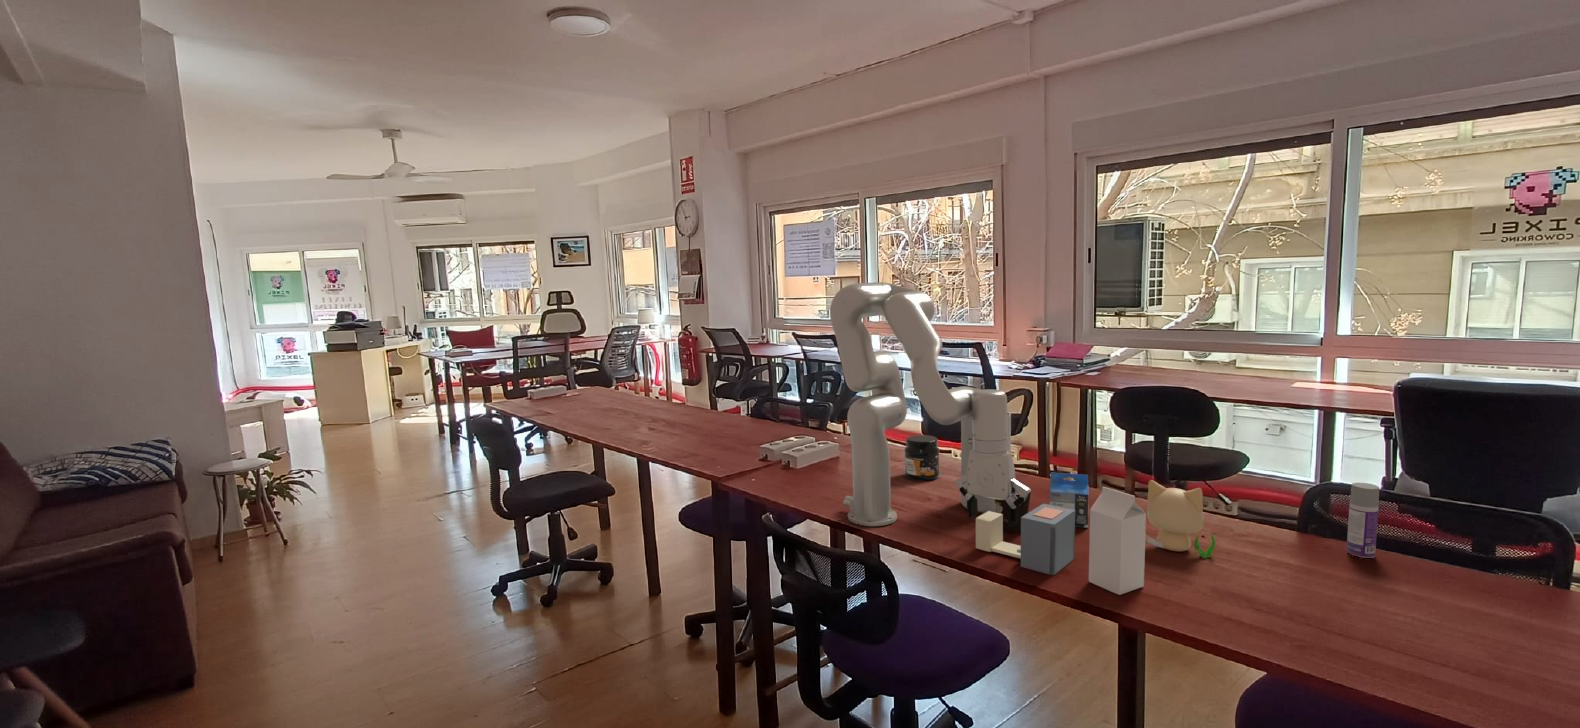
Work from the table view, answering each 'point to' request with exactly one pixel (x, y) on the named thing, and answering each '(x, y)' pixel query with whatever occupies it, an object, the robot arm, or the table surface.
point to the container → (1363, 520)
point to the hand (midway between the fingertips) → (992, 520)
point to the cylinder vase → (967, 433)
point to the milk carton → (1117, 542)
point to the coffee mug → (1003, 509)
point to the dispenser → (1047, 539)
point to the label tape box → (1071, 495)
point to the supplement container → (921, 457)
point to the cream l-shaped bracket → (993, 535)
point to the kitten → (1176, 517)
